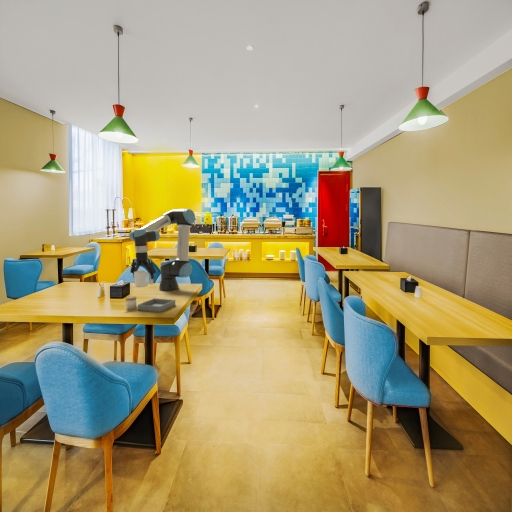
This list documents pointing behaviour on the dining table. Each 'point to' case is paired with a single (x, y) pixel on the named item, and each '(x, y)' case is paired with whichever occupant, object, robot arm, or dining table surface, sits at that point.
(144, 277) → the cup
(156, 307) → the bus tub
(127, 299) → the sugar pot
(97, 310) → the dining table surface
